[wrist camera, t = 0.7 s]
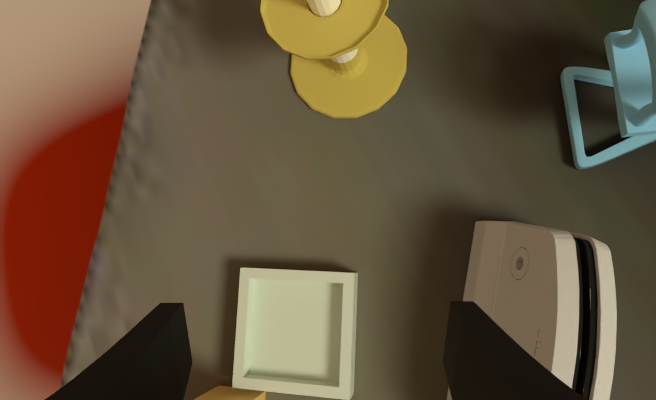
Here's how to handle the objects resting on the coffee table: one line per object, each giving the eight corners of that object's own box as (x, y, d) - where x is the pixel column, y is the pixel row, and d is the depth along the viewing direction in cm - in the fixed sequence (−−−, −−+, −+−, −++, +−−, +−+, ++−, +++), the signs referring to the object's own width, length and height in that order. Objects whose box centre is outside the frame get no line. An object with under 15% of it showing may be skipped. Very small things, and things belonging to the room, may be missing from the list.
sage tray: (353, 392, 35) (349, 400, 33) (242, 381, 37) (232, 387, 35) (357, 272, 37) (354, 273, 35) (249, 267, 38) (240, 267, 37)
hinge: (476, 216, 35) (558, 207, 26) (533, 228, 36) (635, 225, 26) (439, 442, 34) (512, 528, 24) (500, 452, 34) (595, 539, 24)
